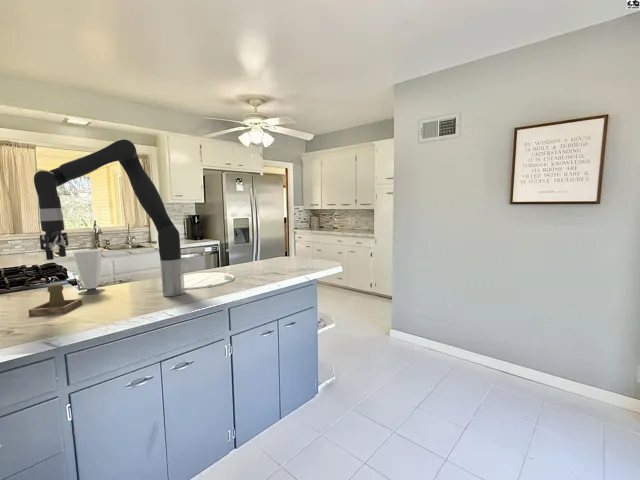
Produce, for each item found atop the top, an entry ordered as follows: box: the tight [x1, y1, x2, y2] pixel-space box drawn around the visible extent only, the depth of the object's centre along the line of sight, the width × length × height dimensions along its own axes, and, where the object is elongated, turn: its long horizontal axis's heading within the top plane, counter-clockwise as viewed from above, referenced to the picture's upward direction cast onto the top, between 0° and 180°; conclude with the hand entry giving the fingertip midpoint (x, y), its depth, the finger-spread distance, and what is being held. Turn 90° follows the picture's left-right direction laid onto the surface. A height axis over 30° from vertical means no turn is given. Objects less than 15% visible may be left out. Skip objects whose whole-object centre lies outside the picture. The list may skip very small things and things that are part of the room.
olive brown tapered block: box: [47, 283, 66, 308], centre depth 138 cm, size 6×6×11 cm
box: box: [28, 298, 83, 317], centre depth 139 cm, size 13×13×2 cm
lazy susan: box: [161, 272, 235, 290], centre depth 188 cm, size 40×39×3 cm
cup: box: [73, 248, 106, 296], centre depth 167 cm, size 12×12×22 cm
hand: (56, 258), depth 138 cm, fingers open, 8 cm apart
